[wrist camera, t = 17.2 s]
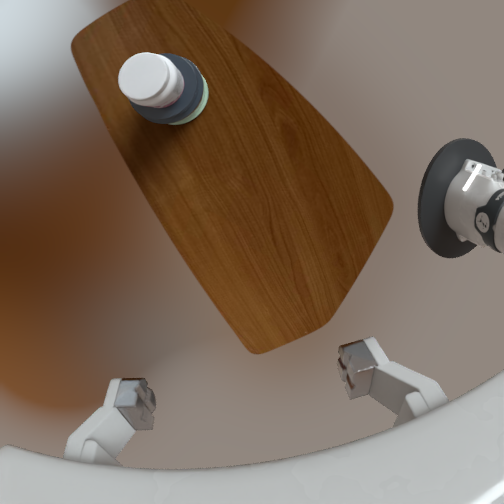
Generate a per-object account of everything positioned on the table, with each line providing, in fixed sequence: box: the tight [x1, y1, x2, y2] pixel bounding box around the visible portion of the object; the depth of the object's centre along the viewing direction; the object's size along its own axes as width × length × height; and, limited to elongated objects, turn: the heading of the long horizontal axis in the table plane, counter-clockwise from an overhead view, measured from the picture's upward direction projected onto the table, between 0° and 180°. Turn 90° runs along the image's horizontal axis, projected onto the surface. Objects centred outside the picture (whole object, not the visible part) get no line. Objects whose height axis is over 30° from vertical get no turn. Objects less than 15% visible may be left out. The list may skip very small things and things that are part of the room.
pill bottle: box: [118, 53, 184, 108], centre depth 22 cm, size 5×5×8 cm
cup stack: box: [129, 53, 208, 125], centre depth 31 cm, size 9×9×12 cm
